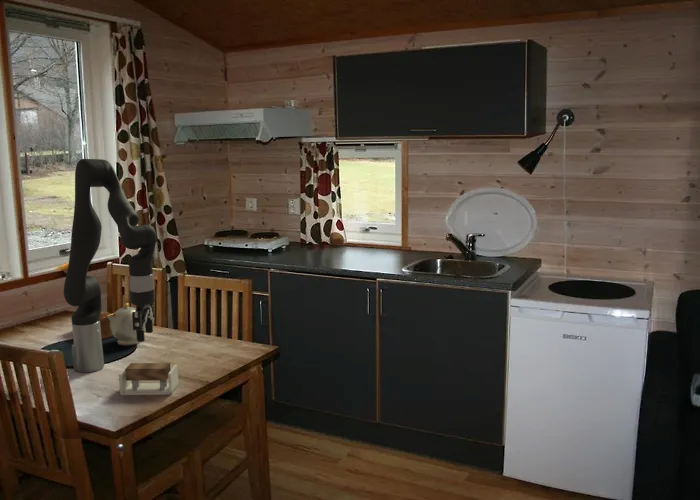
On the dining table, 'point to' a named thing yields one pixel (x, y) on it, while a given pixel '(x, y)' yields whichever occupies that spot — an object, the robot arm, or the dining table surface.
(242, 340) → the dining table surface
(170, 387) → the shelf frame
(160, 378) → the brown rectangular block
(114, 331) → the teapot
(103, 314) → the bread
